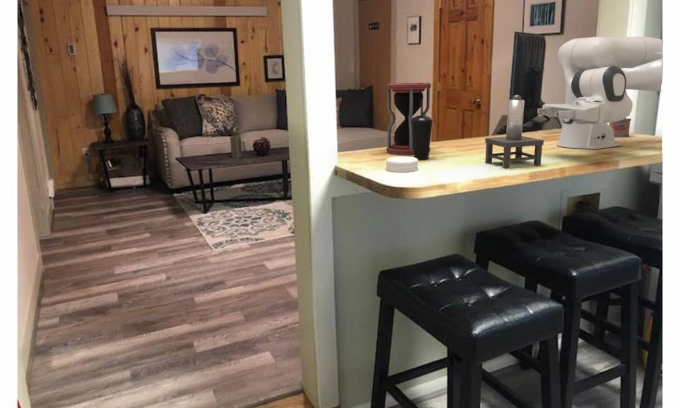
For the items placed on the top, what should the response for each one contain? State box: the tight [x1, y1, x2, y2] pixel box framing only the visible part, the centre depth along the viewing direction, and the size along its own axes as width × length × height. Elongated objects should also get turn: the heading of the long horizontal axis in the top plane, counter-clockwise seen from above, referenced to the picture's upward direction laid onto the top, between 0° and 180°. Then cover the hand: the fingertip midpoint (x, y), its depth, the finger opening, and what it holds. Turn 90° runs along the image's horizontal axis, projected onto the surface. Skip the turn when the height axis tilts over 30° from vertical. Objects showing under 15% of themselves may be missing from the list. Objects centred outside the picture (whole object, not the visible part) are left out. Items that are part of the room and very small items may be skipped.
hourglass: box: [386, 82, 432, 156], centre depth 192 cm, size 16×16×25 cm
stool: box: [484, 135, 545, 170], centre depth 165 cm, size 13×12×8 cm
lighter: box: [608, 113, 632, 139], centre depth 214 cm, size 8×3×10 cm, turn 80°
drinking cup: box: [410, 99, 434, 161], centre depth 178 cm, size 8×8×20 cm
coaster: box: [385, 155, 419, 173], centre depth 163 cm, size 10×10×4 cm
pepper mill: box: [505, 94, 526, 140], centre depth 162 cm, size 5×5×14 cm
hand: (548, 112), depth 165 cm, fingers open, 8 cm apart
